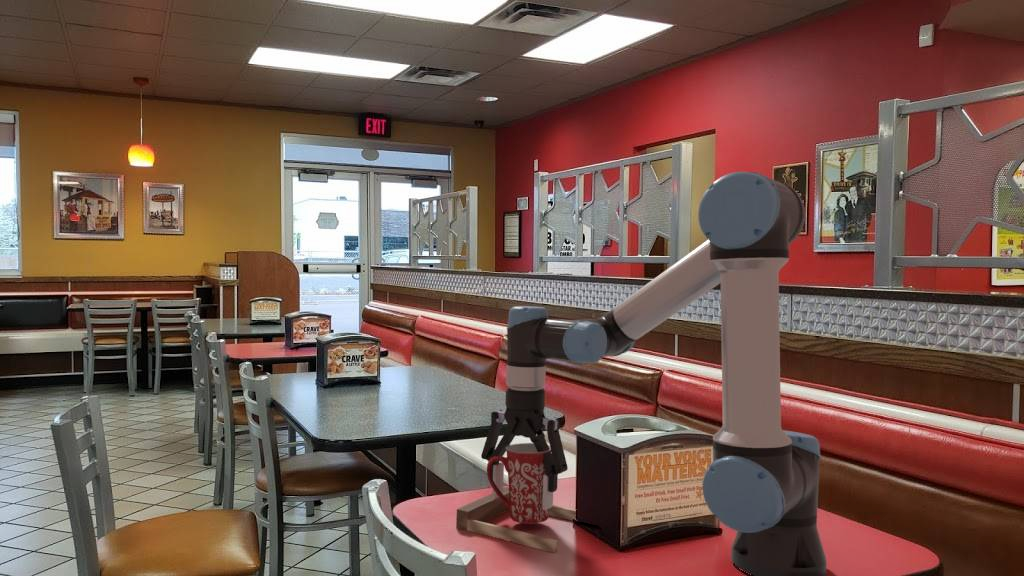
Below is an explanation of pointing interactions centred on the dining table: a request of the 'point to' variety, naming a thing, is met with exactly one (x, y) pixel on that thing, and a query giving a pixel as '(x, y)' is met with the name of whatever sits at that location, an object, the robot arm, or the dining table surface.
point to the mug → (523, 482)
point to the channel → (486, 508)
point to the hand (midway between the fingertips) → (522, 502)
